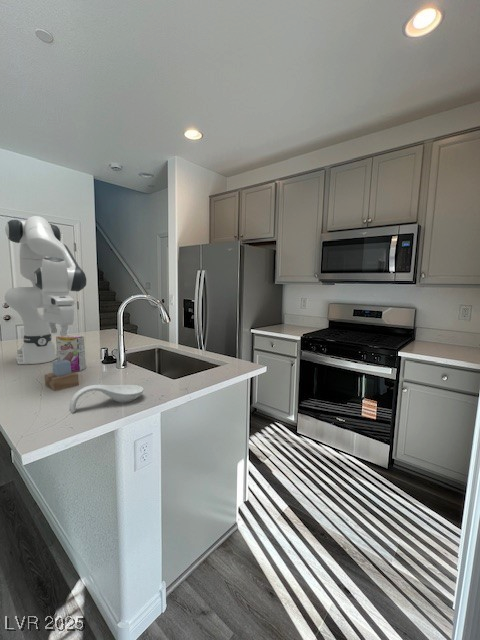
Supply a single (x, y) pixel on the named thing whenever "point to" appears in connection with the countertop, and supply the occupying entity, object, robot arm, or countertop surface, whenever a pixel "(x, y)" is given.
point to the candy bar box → (71, 351)
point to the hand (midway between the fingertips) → (58, 334)
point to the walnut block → (61, 381)
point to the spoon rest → (110, 393)
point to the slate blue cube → (61, 367)
